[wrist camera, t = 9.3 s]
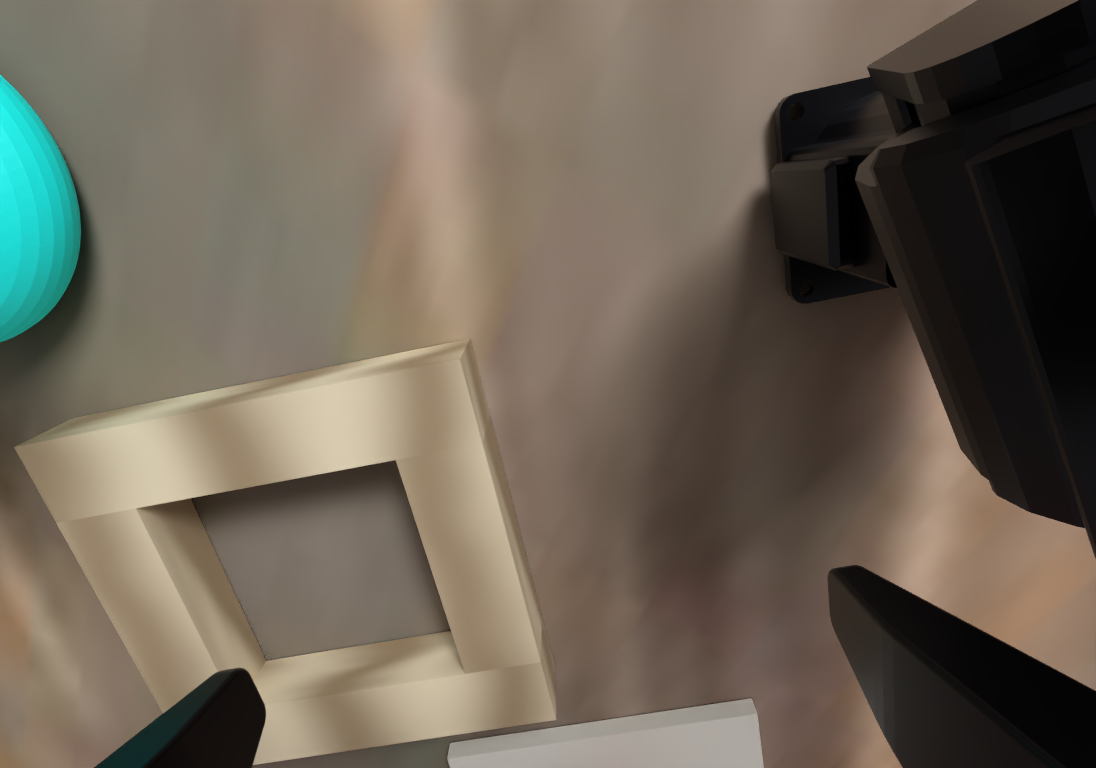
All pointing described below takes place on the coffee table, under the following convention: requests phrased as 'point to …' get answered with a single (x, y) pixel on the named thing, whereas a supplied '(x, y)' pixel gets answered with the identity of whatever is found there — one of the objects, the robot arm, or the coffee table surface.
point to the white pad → (628, 742)
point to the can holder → (289, 453)
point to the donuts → (33, 217)
